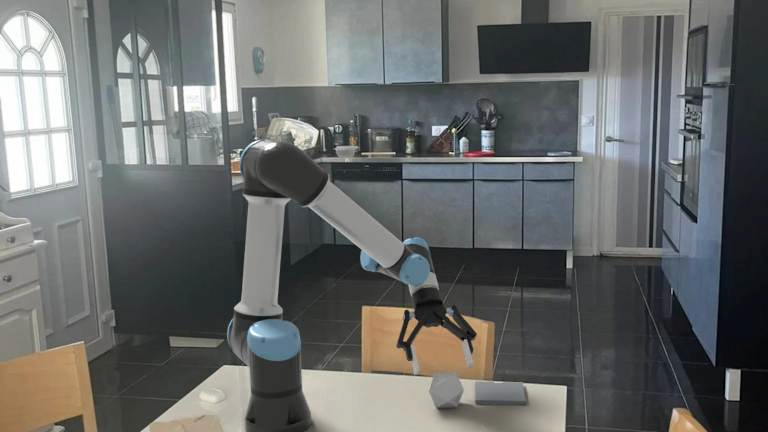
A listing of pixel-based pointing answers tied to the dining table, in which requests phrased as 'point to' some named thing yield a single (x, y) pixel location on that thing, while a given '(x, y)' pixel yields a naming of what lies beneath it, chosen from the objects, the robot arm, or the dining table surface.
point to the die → (446, 390)
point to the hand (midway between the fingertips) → (444, 369)
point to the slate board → (499, 393)
